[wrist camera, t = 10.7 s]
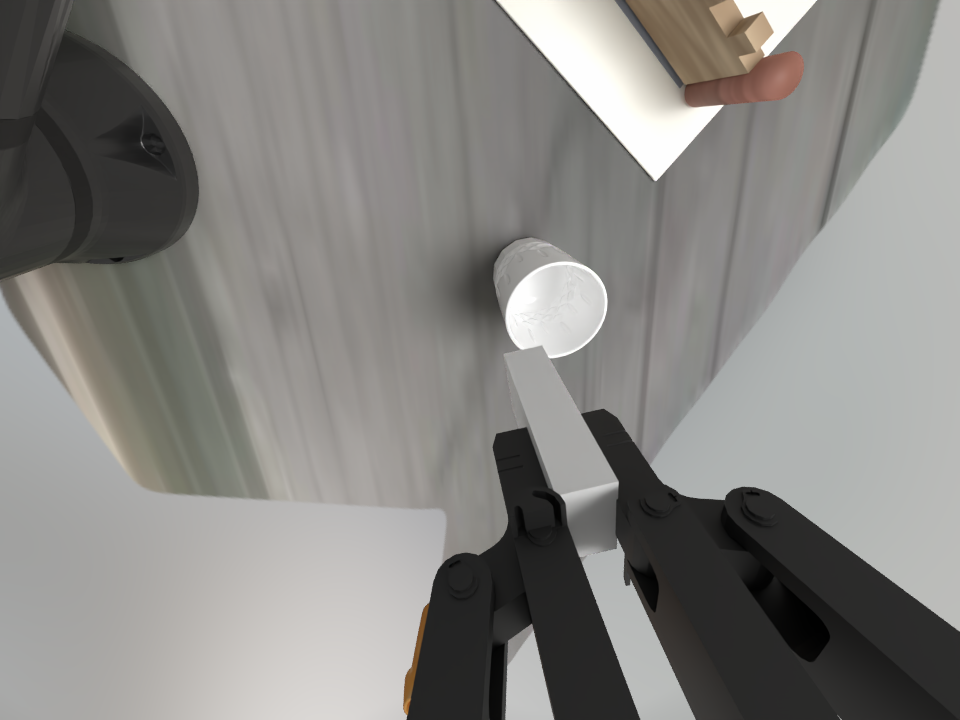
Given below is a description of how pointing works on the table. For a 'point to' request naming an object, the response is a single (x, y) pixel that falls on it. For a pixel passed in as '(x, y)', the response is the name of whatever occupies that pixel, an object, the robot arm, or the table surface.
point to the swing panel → (719, 51)
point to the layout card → (630, 68)
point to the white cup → (548, 297)
